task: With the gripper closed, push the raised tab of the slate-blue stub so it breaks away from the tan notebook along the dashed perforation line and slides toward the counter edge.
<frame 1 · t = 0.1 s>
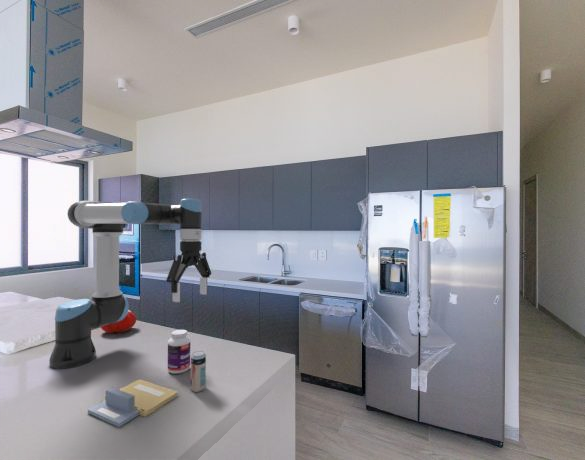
hand: (190, 297, 111), 28 cm above the counter, fingers open, 13 cm apart
beer can: (198, 389, 100), on the counter
stub: (113, 405, 86), point 3 cm above the counter, slide at 0.0 cm
pill bottle: (179, 370, 113), on the counter
red rounded piece: (118, 331, 154), on the counter
tan notebook: (141, 398, 94), on the counter
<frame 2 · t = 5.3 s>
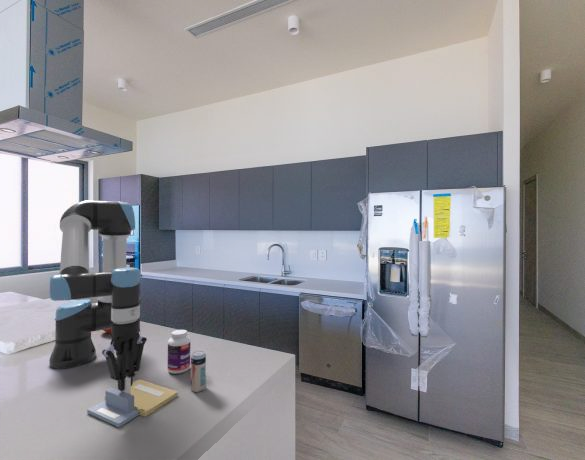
hand: (125, 398, 89), 3 cm above the counter, fingers closed
stub: (113, 405, 86), point 3 cm above the counter, slide at 0.1 cm, touching gripper
everything else where it was.
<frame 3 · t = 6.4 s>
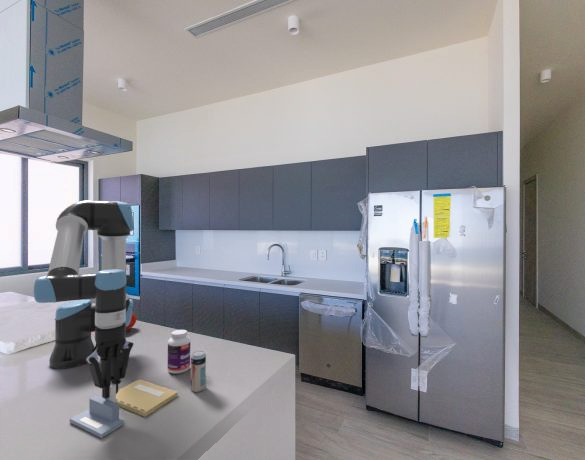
hand: (110, 407, 85), 3 cm above the counter, fingers closed
stub: (96, 414, 82), point 3 cm above the counter, slide at 4.7 cm, touching gripper
everything else where it was.
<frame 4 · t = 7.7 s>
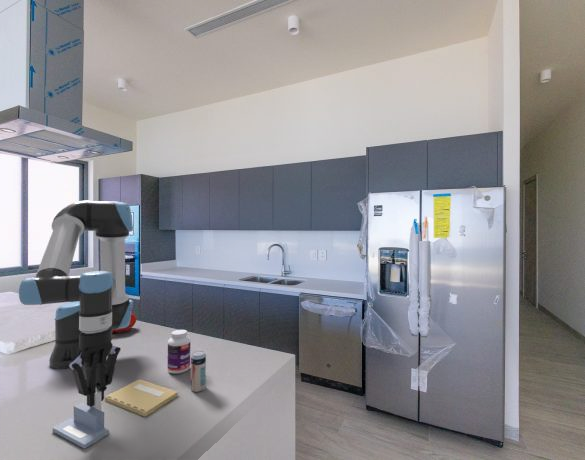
hand: (95, 415, 81), 3 cm above the counter, fingers closed
stub: (80, 422, 78), point 3 cm above the counter, slide at 8.8 cm, touching gripper
everything else where it was.
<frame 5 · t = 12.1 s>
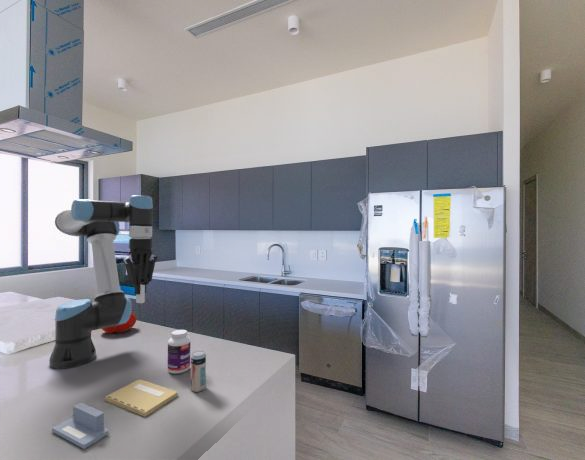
hand: (140, 302, 109), 26 cm above the counter, fingers closed
stub: (80, 423, 78), point 3 cm above the counter, slide at 8.9 cm
everything else where it was.
at the end: stub slide at 8.9 cm; stub touching nothing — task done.
